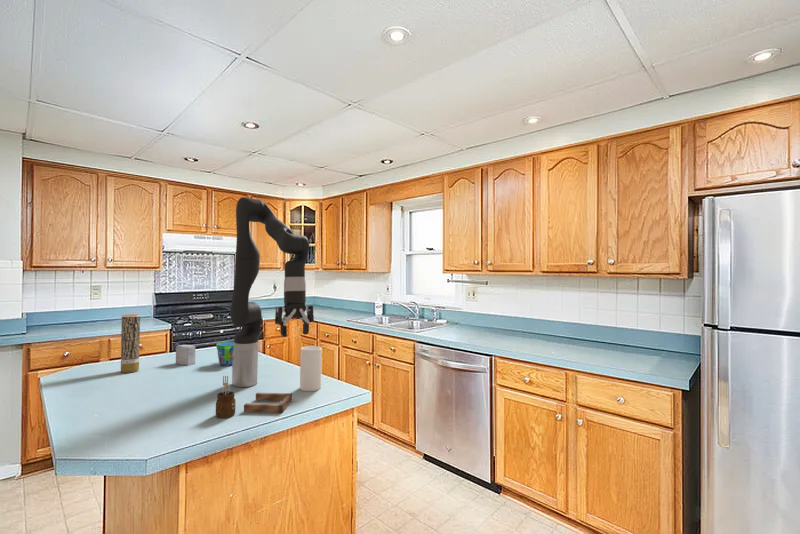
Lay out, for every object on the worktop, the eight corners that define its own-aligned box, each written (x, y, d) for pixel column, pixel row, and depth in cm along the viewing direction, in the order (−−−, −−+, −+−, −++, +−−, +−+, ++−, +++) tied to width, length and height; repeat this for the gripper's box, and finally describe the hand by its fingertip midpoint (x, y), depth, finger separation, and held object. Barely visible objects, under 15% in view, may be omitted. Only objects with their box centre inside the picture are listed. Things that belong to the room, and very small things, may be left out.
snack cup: (219, 360, 203) (219, 340, 203) (241, 360, 205) (242, 340, 205) (212, 368, 187) (212, 346, 187) (236, 368, 190) (237, 346, 190)
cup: (315, 392, 158) (316, 350, 158) (296, 390, 159) (297, 349, 159) (323, 385, 166) (324, 346, 166) (305, 384, 168) (306, 345, 167)
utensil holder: (216, 419, 128) (216, 381, 128) (214, 413, 134) (215, 376, 133) (236, 416, 131) (237, 379, 131) (234, 410, 136) (235, 374, 136)
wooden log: (126, 369, 183) (127, 313, 183) (142, 369, 184) (143, 314, 184) (117, 373, 176) (118, 315, 176) (133, 373, 177) (134, 316, 177)
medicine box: (195, 363, 196) (196, 345, 196) (188, 365, 192) (188, 347, 192) (183, 362, 199) (183, 344, 199) (175, 364, 195) (175, 346, 194)
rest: (243, 412, 135) (243, 404, 135) (256, 399, 148) (257, 392, 148) (282, 412, 135) (282, 405, 135) (292, 400, 148) (292, 393, 148)
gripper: (306, 289, 153) (306, 333, 152) (271, 290, 143) (271, 336, 142) (317, 289, 148) (317, 334, 147) (282, 290, 138) (282, 338, 137)
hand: (295, 335), depth 145 cm, fingers open, 8 cm apart
